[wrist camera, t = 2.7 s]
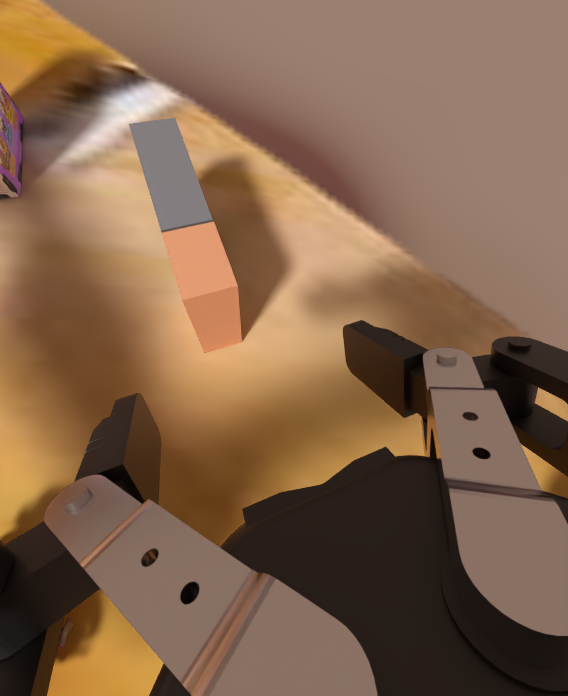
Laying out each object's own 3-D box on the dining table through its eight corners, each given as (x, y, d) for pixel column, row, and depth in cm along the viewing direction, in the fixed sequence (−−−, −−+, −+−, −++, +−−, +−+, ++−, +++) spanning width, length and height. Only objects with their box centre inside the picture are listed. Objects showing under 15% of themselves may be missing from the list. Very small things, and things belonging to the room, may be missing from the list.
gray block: (225, 294, 34) (214, 222, 24) (188, 303, 33) (161, 233, 23) (195, 211, 38) (175, 117, 27) (162, 218, 37) (128, 124, 26)
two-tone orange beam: (242, 341, 32) (238, 285, 22) (204, 353, 31) (181, 300, 21) (225, 293, 34) (214, 221, 24) (188, 303, 33) (160, 232, 23)
